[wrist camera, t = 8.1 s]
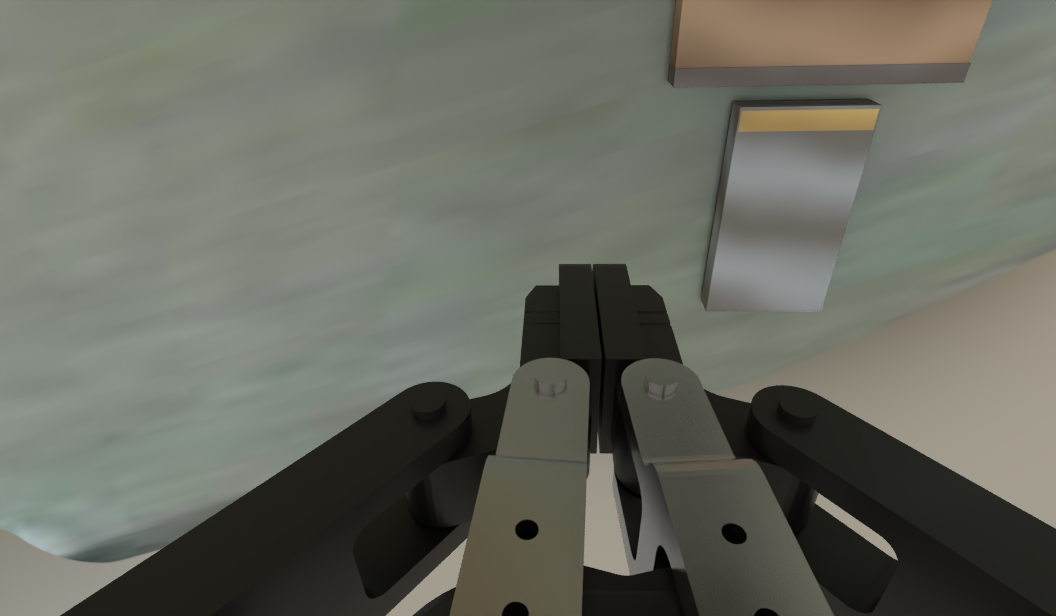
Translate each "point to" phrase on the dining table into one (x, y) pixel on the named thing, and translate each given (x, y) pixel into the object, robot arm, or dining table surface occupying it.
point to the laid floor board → (823, 42)
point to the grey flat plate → (785, 202)
